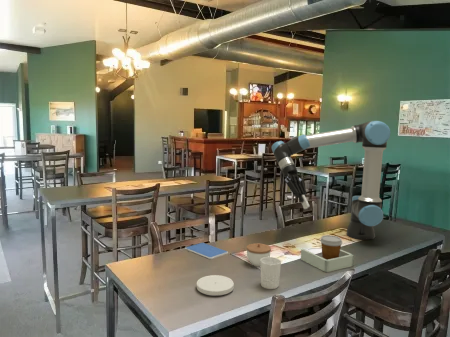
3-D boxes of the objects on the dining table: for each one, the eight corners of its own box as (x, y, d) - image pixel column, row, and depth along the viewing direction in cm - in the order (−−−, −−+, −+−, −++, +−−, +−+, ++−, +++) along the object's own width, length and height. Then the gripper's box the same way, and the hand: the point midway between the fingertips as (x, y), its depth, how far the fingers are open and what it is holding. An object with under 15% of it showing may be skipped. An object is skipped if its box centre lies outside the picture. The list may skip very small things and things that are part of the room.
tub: (326, 253, 174) (327, 244, 173) (353, 265, 160) (354, 255, 159) (300, 259, 166) (301, 249, 165) (326, 272, 152) (326, 261, 151)
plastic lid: (189, 291, 133) (189, 285, 133) (209, 278, 145) (210, 272, 144) (221, 301, 126) (221, 295, 125) (240, 286, 138) (240, 280, 137)
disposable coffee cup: (343, 268, 156) (344, 242, 155) (321, 267, 157) (322, 241, 155) (338, 260, 165) (340, 235, 164) (317, 259, 166) (318, 234, 165)
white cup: (257, 281, 142) (258, 257, 141) (277, 280, 143) (278, 256, 142) (261, 290, 134) (262, 264, 133) (282, 289, 135) (283, 264, 134)
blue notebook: (183, 249, 178) (183, 247, 177) (202, 244, 186) (202, 241, 186) (210, 260, 164) (210, 258, 164) (229, 254, 173) (229, 251, 173)
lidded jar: (254, 270, 153) (255, 249, 152) (241, 261, 162) (242, 241, 161) (275, 266, 158) (275, 245, 156) (261, 257, 167) (262, 238, 166)
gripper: (291, 172, 193) (310, 211, 182) (274, 171, 185) (293, 211, 174) (301, 164, 188) (320, 203, 177) (284, 163, 180) (303, 204, 169)
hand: (307, 207), depth 176 cm, fingers closed
